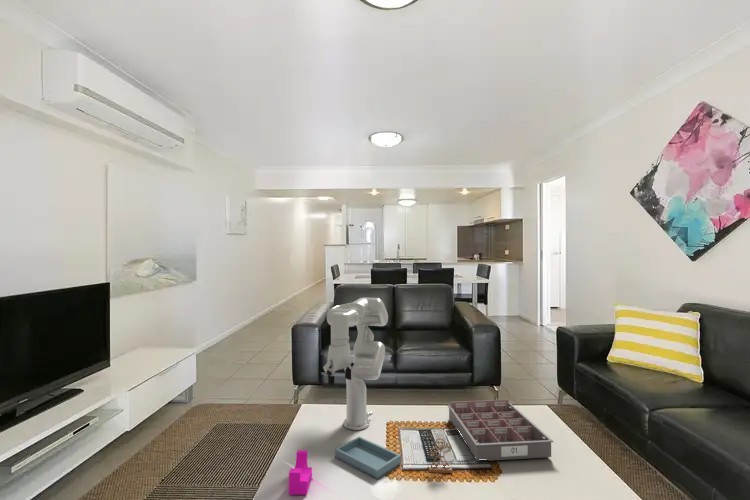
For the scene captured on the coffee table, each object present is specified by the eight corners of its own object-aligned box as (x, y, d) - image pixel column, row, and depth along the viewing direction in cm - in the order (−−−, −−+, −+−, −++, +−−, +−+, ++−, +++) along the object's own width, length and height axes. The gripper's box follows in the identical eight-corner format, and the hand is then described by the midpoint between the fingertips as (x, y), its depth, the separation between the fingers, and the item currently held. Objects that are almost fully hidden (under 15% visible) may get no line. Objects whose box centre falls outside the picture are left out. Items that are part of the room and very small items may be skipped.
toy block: (307, 494, 133) (307, 472, 133) (288, 494, 133) (288, 472, 133) (313, 469, 148) (313, 450, 148) (297, 469, 148) (297, 450, 148)
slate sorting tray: (359, 444, 166) (359, 436, 166) (401, 464, 151) (401, 455, 151) (335, 457, 156) (335, 448, 156) (377, 480, 140) (377, 470, 140)
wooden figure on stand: (428, 472, 145) (428, 440, 145) (428, 466, 149) (428, 435, 149) (452, 473, 145) (452, 441, 145) (451, 467, 149) (451, 436, 149)
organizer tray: (475, 465, 150) (475, 440, 150) (447, 420, 190) (447, 400, 190) (554, 461, 153) (554, 436, 153) (509, 418, 193) (509, 398, 193)
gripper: (348, 336, 172) (348, 375, 172) (318, 343, 159) (318, 385, 159) (360, 339, 167) (360, 378, 167) (330, 346, 154) (330, 389, 154)
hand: (339, 381), depth 163 cm, fingers open, 9 cm apart
